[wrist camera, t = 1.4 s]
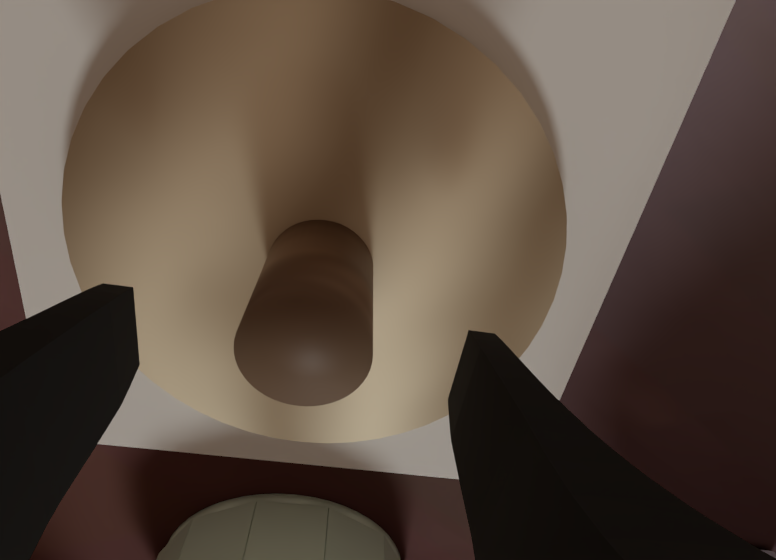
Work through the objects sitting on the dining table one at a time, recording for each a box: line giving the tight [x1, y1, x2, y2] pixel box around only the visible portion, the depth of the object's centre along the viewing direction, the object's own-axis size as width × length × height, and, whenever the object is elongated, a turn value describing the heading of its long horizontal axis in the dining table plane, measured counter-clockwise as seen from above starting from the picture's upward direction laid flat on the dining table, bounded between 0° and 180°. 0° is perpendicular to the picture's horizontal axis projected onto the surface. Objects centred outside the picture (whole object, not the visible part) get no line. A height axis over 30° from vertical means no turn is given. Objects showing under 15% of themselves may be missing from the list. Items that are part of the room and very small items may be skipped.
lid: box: [61, 0, 567, 443], centre depth 13 cm, size 14×14×5 cm
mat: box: [0, 0, 736, 479], centre depth 15 cm, size 18×18×1 cm
